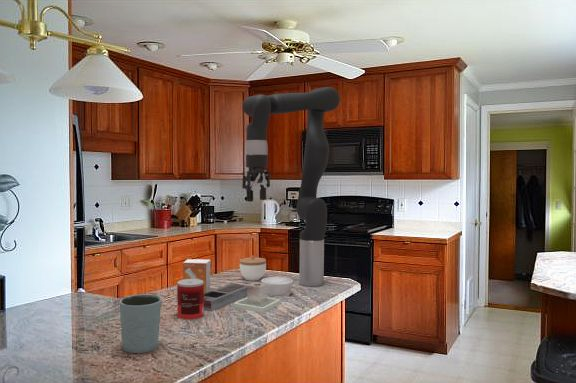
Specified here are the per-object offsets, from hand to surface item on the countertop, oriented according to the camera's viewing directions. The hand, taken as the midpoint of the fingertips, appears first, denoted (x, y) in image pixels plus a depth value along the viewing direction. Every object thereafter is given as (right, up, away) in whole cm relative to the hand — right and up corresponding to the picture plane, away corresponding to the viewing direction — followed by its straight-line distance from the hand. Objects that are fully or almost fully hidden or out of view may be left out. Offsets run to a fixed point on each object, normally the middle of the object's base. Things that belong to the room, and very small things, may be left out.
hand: (256, 200), depth 170 cm
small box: (-20, -33, -4) cm, 39 cm away
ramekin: (+7, -33, +3) cm, 34 cm away
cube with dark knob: (+1, -33, -15) cm, 37 cm away
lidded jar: (-3, -32, +26) cm, 41 cm away
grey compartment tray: (-11, -34, -10) cm, 36 cm away
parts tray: (+1, -34, -15) cm, 37 cm away
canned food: (-18, -35, -25) cm, 46 cm away
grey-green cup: (-26, -36, -48) cm, 65 cm away
